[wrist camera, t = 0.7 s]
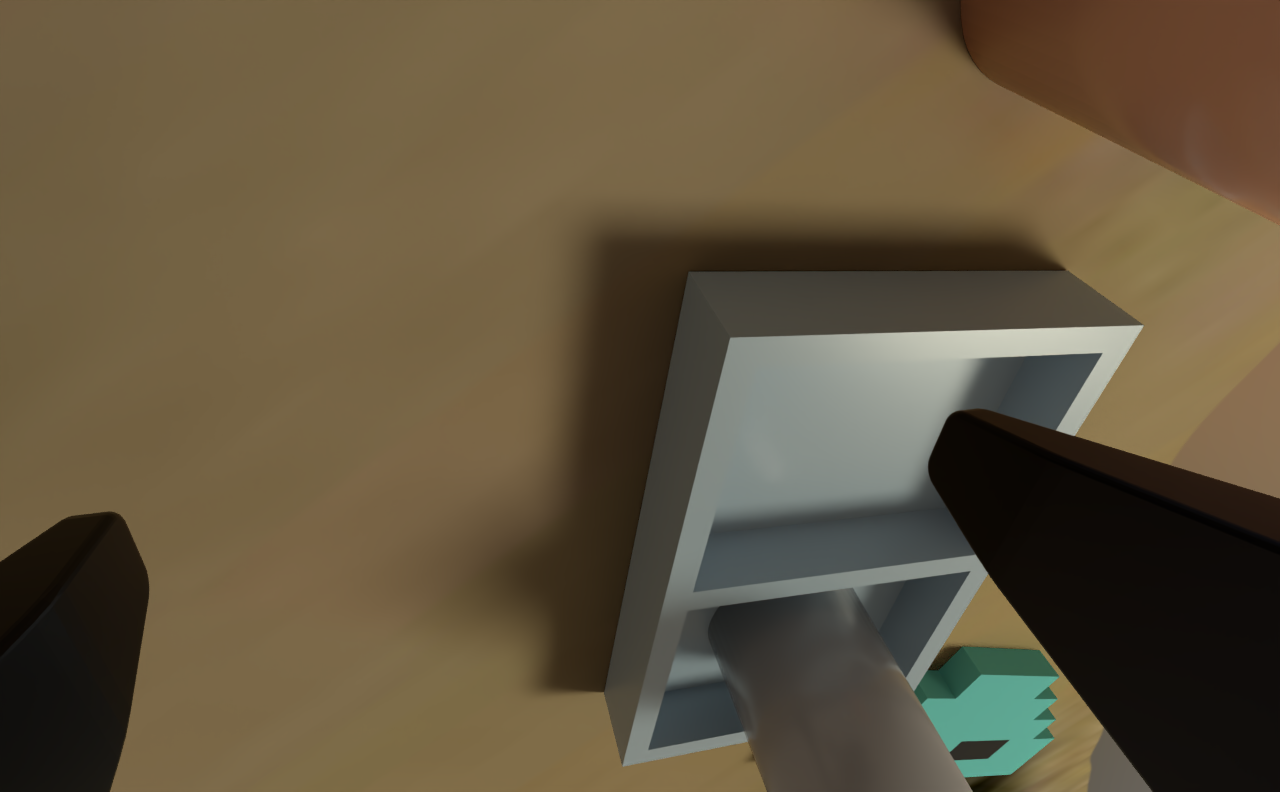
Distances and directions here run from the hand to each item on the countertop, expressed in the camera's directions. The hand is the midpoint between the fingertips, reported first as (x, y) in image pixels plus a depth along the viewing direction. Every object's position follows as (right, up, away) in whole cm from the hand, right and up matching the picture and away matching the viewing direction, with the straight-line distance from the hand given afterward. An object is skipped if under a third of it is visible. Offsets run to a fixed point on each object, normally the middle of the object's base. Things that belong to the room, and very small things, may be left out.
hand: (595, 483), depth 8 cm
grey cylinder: (+7, -9, +25) cm, 27 cm away
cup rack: (+7, -4, +23) cm, 24 cm away
